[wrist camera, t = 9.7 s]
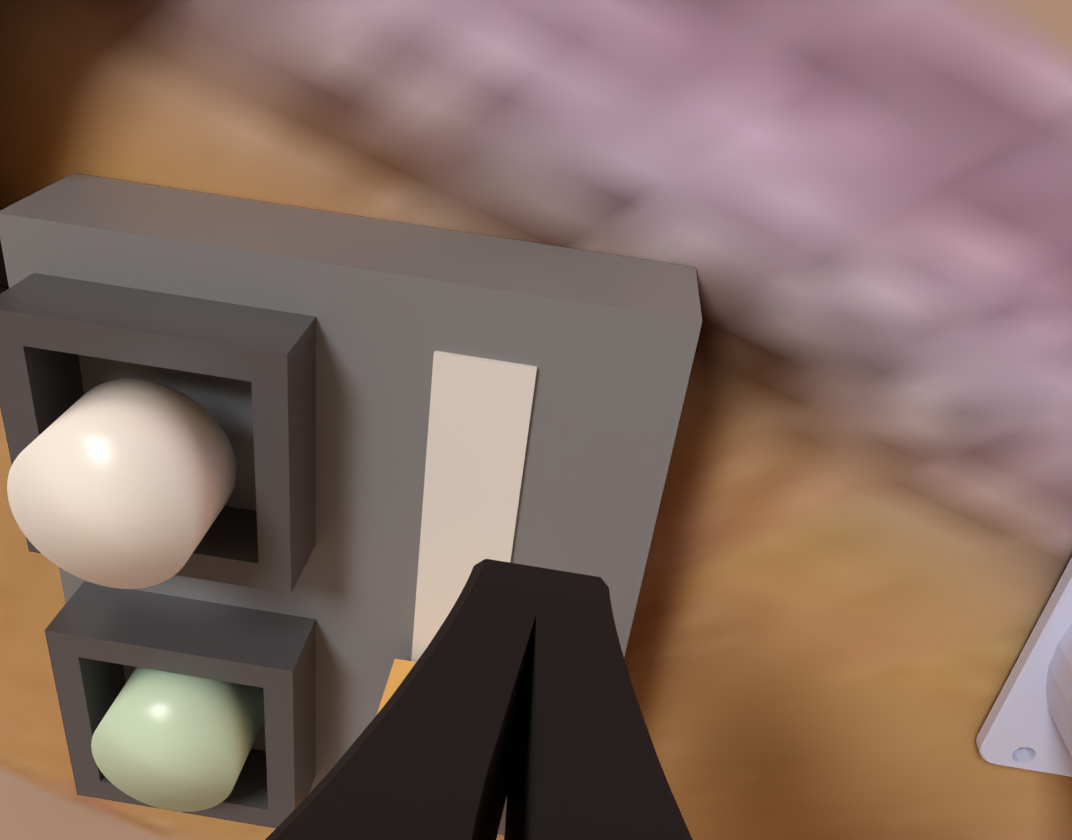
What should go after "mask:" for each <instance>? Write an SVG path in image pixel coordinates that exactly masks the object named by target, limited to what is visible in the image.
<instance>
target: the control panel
mask: <svg viewBox="0 0 1072 840" xmlns="http://www.w3.org/2000/svg"><path fill="white" fill-rule="evenodd" d="M0 240H1V246H2V251H3V257H4V262H5V268H6V274H7V279H8V285H9V289H7V290H6V291H4V292H3V293H1V294H0V407H1V412H2V417H3V422H4V428H5V433H6V438H7V443H8V448H9V453H10V458H11V463H12V464H13V462H14V461H15V459H16V458H17V456H18V455H19V454H20V453H21V452H22V451H23V450H24V449H25V448H26V447H27V446H28V445H29V444H30V443H31V442H33V441H34V440H35V439H36V438H37V437H38V436H39V435H40V434H41V433H42V432H43V431H45V430H46V429H47V428H48V427H49V426H50V425H51V424H52V423H53V422H54V421H56V420H57V419H58V418H59V417H60V416H61V415H62V414H63V413H64V412H65V411H66V410H68V409H69V408H70V407H71V406H72V405H73V404H74V403H75V402H76V401H77V400H79V399H80V398H81V397H82V396H83V395H84V394H85V393H86V392H88V391H89V390H91V389H92V388H93V387H95V386H98V385H100V384H102V383H105V382H108V381H111V380H118V379H143V380H149V381H153V382H157V383H160V384H163V385H166V386H169V387H171V388H174V389H176V390H178V391H180V392H182V393H183V394H185V395H187V396H189V397H190V398H192V399H193V400H194V401H196V402H197V403H199V404H200V405H201V406H202V407H203V408H204V409H206V410H207V411H208V412H209V413H210V414H211V415H212V416H213V417H214V419H215V420H216V421H217V422H218V423H219V425H220V426H221V427H222V429H223V430H224V432H225V434H226V435H227V437H228V439H229V441H230V443H231V446H232V448H233V451H234V455H235V459H236V466H237V478H236V483H235V487H234V490H233V492H232V495H231V496H230V498H229V500H228V501H227V503H226V504H225V506H224V507H223V509H222V510H221V512H220V513H219V515H218V516H217V518H216V519H215V521H214V522H213V524H212V525H211V527H210V528H209V530H208V531H207V533H206V534H205V535H204V537H203V538H202V540H201V541H200V543H199V544H198V546H197V547H196V549H195V550H194V552H193V553H192V555H191V556H190V558H189V559H188V561H187V562H186V564H185V565H184V566H183V567H182V569H181V570H180V571H179V572H178V573H177V574H175V575H174V576H173V577H172V578H170V579H168V580H166V581H165V582H162V583H160V584H157V585H155V586H150V587H146V588H139V589H119V588H111V587H106V586H101V585H98V584H94V583H91V582H88V581H86V580H83V579H81V578H78V577H76V576H74V575H72V574H70V573H68V572H66V571H65V570H63V569H62V568H60V567H59V569H60V574H61V580H62V586H63V591H64V597H65V602H66V604H65V606H64V607H63V608H62V609H61V611H60V612H59V613H58V614H57V616H56V617H55V618H54V619H53V621H52V622H51V623H50V624H49V626H48V627H47V628H46V629H45V634H46V639H47V644H48V649H49V654H50V659H51V664H52V669H53V674H54V680H55V685H56V690H57V695H58V700H59V705H60V710H61V715H62V720H63V725H64V730H65V735H66V740H67V745H68V750H69V755H70V760H71V765H72V770H73V775H74V780H75V785H76V790H77V795H83V796H89V797H95V798H101V799H107V800H112V801H118V802H124V803H130V804H136V805H142V806H148V807H153V806H150V805H148V804H145V803H142V802H140V801H138V800H136V799H134V798H132V797H130V796H129V795H127V794H125V793H124V792H122V791H121V790H119V789H118V788H117V787H116V786H114V785H113V784H112V783H111V782H110V781H109V780H108V779H107V778H106V777H105V776H104V775H103V773H102V772H101V771H100V769H99V768H98V766H97V764H96V762H95V760H94V758H93V754H92V749H91V742H92V737H93V734H94V732H95V730H96V729H97V727H98V725H99V724H100V722H101V721H102V719H103V718H104V716H105V715H106V713H107V712H108V710H109V708H110V707H111V705H112V704H113V702H114V701H115V699H116V698H117V696H118V695H119V693H120V691H121V690H122V688H123V687H124V685H125V684H126V682H127V681H128V679H129V678H130V676H131V675H132V673H133V671H134V670H135V668H136V667H140V668H146V669H152V670H158V671H165V672H171V673H177V674H183V675H189V676H195V677H201V678H207V679H213V680H219V681H225V682H231V683H237V684H243V685H249V686H255V687H259V688H260V690H261V692H262V694H263V696H264V716H265V719H264V721H263V724H262V726H261V728H260V730H259V732H258V735H257V737H256V739H255V741H254V743H253V746H252V748H251V750H250V752H249V754H248V757H247V759H246V761H245V763H244V765H243V768H242V770H241V772H240V774H239V776H238V778H237V781H236V783H235V785H234V787H233V789H232V791H231V793H230V795H229V796H228V797H227V798H226V799H225V800H224V801H223V802H221V803H220V804H218V805H216V806H214V807H212V808H209V809H205V810H201V811H194V812H183V813H189V814H195V815H201V816H207V817H213V818H218V819H224V820H230V821H236V822H242V823H248V824H254V825H260V826H266V827H271V828H277V827H278V826H279V825H280V824H281V823H282V822H283V821H284V820H285V819H286V818H287V817H288V816H289V815H290V814H291V813H292V812H293V811H294V810H295V809H296V808H297V806H298V805H299V804H300V803H301V802H302V801H303V800H304V799H305V798H306V797H307V796H308V795H309V794H310V792H311V791H312V790H313V789H314V788H315V787H316V786H317V785H318V784H319V782H320V781H321V780H322V779H323V778H324V777H325V776H326V775H327V774H328V772H329V771H330V770H331V769H332V768H333V767H334V766H335V764H336V763H337V762H338V761H339V760H340V758H341V757H342V756H343V755H344V754H345V752H346V751H347V750H348V749H349V748H350V746H351V745H352V744H353V743H354V742H355V740H356V739H357V738H358V737H359V736H360V734H361V733H362V732H363V731H364V730H365V728H366V727H367V726H368V725H369V724H370V722H371V721H372V720H373V719H374V718H375V716H376V715H377V712H378V709H379V706H380V703H381V700H382V697H383V693H384V690H385V687H386V684H387V681H388V678H389V675H390V672H391V669H392V666H393V662H394V659H401V660H407V661H413V662H417V661H418V659H419V658H420V656H421V655H422V654H423V652H424V651H425V650H426V648H427V647H428V645H429V644H430V642H431V641H432V639H433V638H434V636H435V635H436V633H437V632H438V630H439V628H440V627H441V625H442V624H443V622H444V621H445V619H446V618H447V616H448V614H449V613H450V611H451V609H452V608H453V606H454V604H455V603H456V601H457V599H458V597H459V596H460V594H461V592H462V590H463V588H464V586H465V584H466V582H467V580H468V578H469V576H470V574H471V571H472V569H473V567H474V565H476V564H477V563H479V562H481V561H483V560H484V559H491V560H497V561H503V562H510V563H516V564H522V565H528V566H534V567H541V568H547V569H553V570H559V571H565V572H572V573H578V574H584V575H590V576H597V577H601V578H602V580H603V581H604V582H605V583H606V585H607V586H608V587H609V592H610V600H611V606H612V611H613V617H614V621H615V626H616V630H617V634H618V638H619V642H620V646H621V650H622V653H623V657H625V652H626V648H627V644H628V639H629V635H630V631H631V627H632V622H633V618H634V614H635V609H636V605H637V601H638V596H639V592H640V588H641V584H642V579H643V575H644V571H645V566H646V562H647V558H648V553H649V549H650V545H651V540H652V536H653V532H654V528H655V523H656V519H657V515H658V510H659V506H660V502H661V497H662V493H663V489H664V484H665V480H666V476H667V472H668V467H669V463H670V459H671V454H672V450H673V446H674V441H675V437H676V433H677V428H678V424H679V420H680V416H681V411H682V407H683V403H684V398H685V394H686V390H687V385H688V381H689V377H690V372H691V368H692V364H693V360H694V355H695V351H696V347H697V342H698V338H699V334H700V329H701V325H702V314H701V306H700V299H699V291H698V283H697V276H696V268H695V267H691V266H684V265H677V264H671V263H664V262H658V261H651V260H645V259H638V258H631V257H625V256H618V255H612V254H605V253H598V252H592V251H585V250H579V249H572V248H565V247H559V246H552V245H546V244H539V243H532V242H526V241H519V240H513V239H506V238H499V237H493V236H486V235H480V234H473V233H467V232H460V231H453V230H447V229H440V228H434V227H427V226H420V225H414V224H407V223H401V222H394V221H387V220H381V219H374V218H368V217H361V216H354V215H348V214H341V213H335V212H328V211H322V210H315V209H308V208H302V207H295V206H289V205H282V204H275V203H269V202H262V201H256V200H249V199H242V198H236V197H229V196H223V195H216V194H209V193H203V192H196V191H190V190H183V189H176V188H170V187H163V186H157V185H150V184H144V183H137V182H130V181H124V180H117V179H111V178H104V177H97V176H91V175H84V174H78V173H73V174H71V175H69V176H67V177H65V178H63V179H61V180H59V181H57V182H55V183H53V184H51V185H49V186H47V187H45V188H43V189H41V190H39V191H38V192H36V193H34V194H32V195H30V196H28V197H26V198H24V199H22V200H20V201H18V202H16V203H14V204H12V205H10V206H8V207H6V208H4V209H2V210H0ZM26 538H27V537H26ZM27 543H28V548H29V551H30V552H37V553H41V552H39V551H38V550H37V549H36V548H35V547H34V546H33V544H32V543H31V542H30V541H29V540H28V539H27ZM506 802H507V798H506ZM506 802H505V806H504V810H503V814H502V818H501V822H500V826H499V830H498V834H500V835H505V818H506ZM154 808H157V807H154ZM177 812H178V811H177Z"/></svg>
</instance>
